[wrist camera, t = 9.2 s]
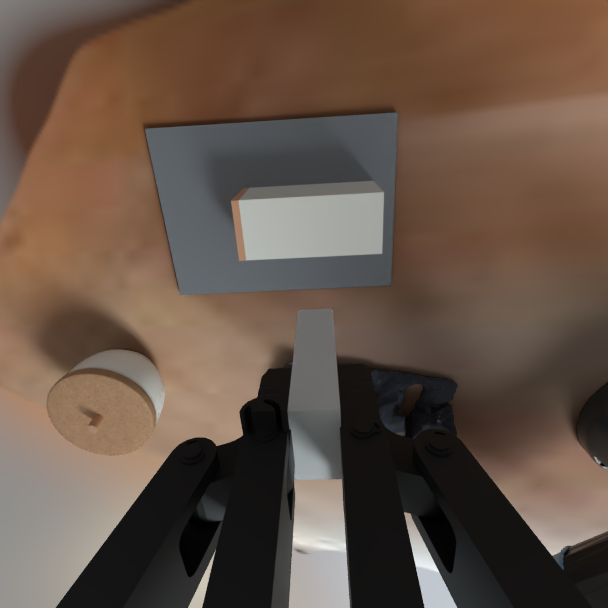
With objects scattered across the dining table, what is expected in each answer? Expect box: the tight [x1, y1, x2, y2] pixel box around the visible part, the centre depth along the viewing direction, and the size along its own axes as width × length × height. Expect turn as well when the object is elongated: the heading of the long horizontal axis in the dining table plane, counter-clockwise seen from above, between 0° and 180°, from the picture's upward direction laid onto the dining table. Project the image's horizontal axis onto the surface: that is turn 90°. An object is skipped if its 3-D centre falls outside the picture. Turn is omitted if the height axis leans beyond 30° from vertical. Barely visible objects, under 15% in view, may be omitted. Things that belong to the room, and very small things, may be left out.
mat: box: [145, 112, 398, 295], centre depth 38 cm, size 16×22×1 cm
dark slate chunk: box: [284, 363, 457, 439], centre depth 46 cm, size 15×22×5 cm
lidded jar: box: [47, 349, 165, 455], centre depth 42 cm, size 11×11×9 cm
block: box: [231, 181, 384, 261], centre depth 34 cm, size 5×6×12 cm
